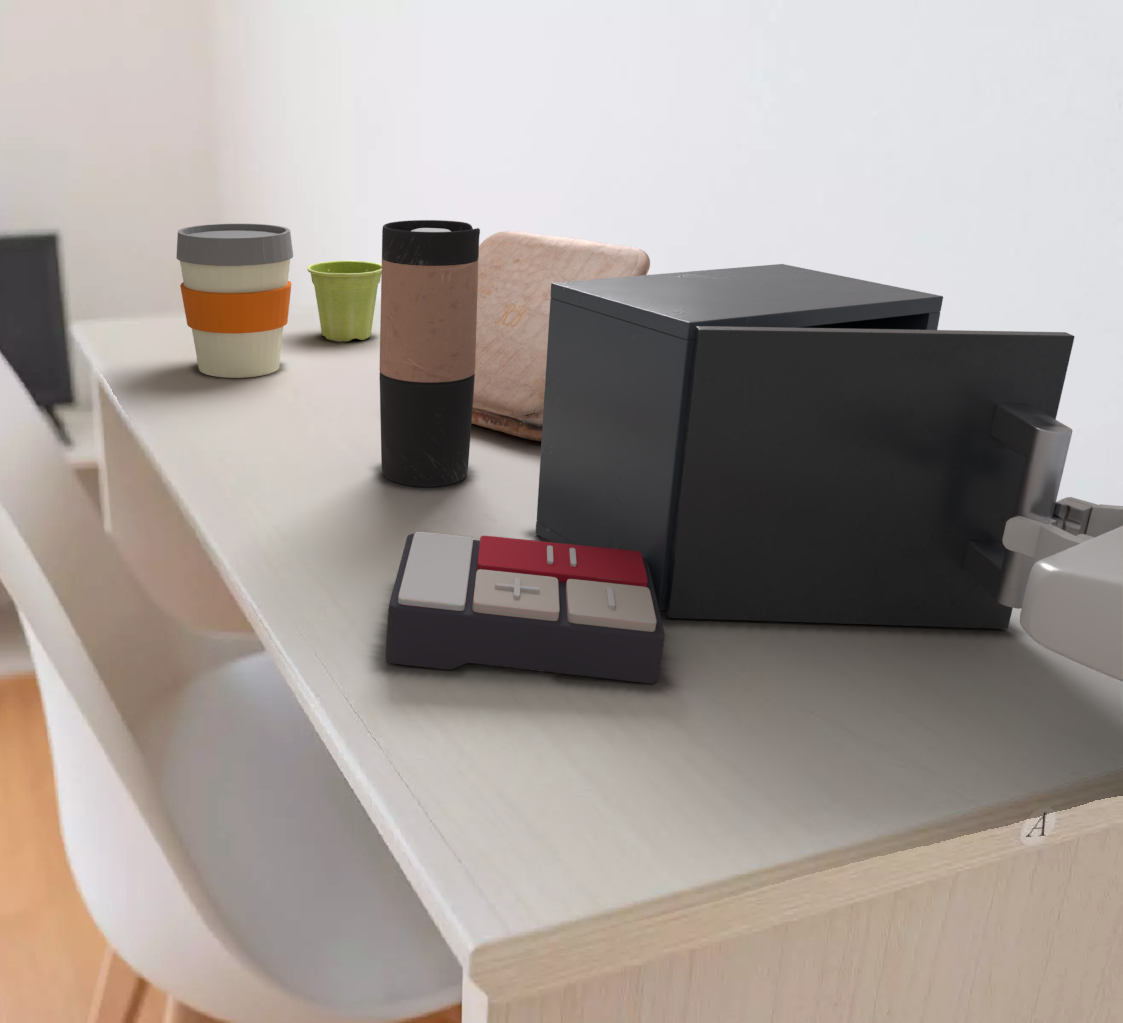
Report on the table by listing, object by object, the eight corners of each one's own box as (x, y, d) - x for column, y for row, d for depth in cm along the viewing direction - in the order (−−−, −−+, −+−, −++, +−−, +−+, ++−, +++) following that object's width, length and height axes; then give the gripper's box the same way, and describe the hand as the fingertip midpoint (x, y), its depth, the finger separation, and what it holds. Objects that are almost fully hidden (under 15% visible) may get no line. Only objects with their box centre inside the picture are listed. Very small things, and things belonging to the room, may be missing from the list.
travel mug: (360, 476, 95) (361, 226, 87) (410, 452, 101) (415, 217, 93) (440, 494, 91) (448, 234, 83) (487, 469, 96) (498, 224, 89)
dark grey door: (1052, 673, 64) (1130, 359, 57) (685, 660, 65) (721, 351, 59) (1000, 621, 70) (1065, 331, 63) (665, 611, 71) (695, 325, 65)
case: (381, 404, 115) (383, 240, 109) (522, 370, 128) (531, 222, 122) (539, 453, 101) (550, 267, 95) (680, 409, 113) (698, 243, 108)
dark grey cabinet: (895, 559, 79) (943, 295, 72) (658, 611, 71) (689, 322, 65) (751, 494, 91) (782, 263, 84) (535, 533, 83) (550, 282, 77)
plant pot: (368, 347, 138) (368, 274, 135) (296, 341, 141) (295, 270, 138) (394, 332, 146) (395, 263, 143) (325, 326, 149) (325, 258, 146)
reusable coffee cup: (215, 350, 136) (209, 220, 131) (313, 360, 132) (311, 226, 127) (161, 375, 125) (152, 234, 120) (265, 386, 121) (261, 241, 116)
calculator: (668, 625, 61) (388, 594, 63) (656, 695, 63) (383, 663, 65) (649, 545, 71) (408, 520, 73) (639, 608, 73) (403, 582, 75)
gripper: (1459, 504, 54) (1142, 431, 65) (1271, 611, 44) (931, 502, 55) (1414, 624, 57) (1116, 534, 68) (1225, 752, 46) (908, 621, 57)
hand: (1031, 520), depth 61 cm, fingers closed
